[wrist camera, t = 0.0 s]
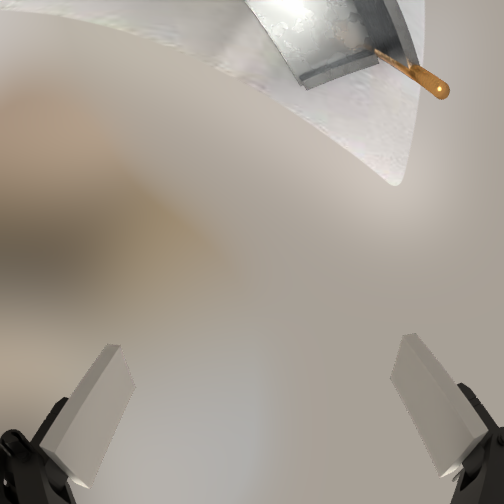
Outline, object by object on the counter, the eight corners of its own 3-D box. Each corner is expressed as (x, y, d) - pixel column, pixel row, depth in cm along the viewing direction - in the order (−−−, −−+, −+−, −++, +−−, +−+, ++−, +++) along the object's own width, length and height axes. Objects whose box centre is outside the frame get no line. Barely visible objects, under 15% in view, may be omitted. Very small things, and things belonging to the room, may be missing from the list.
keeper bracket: (238, -8, 22) (232, -14, 12) (338, -44, 16) (395, -59, 7) (300, 86, 33) (327, 139, 24) (387, 54, 28) (450, 97, 18)
